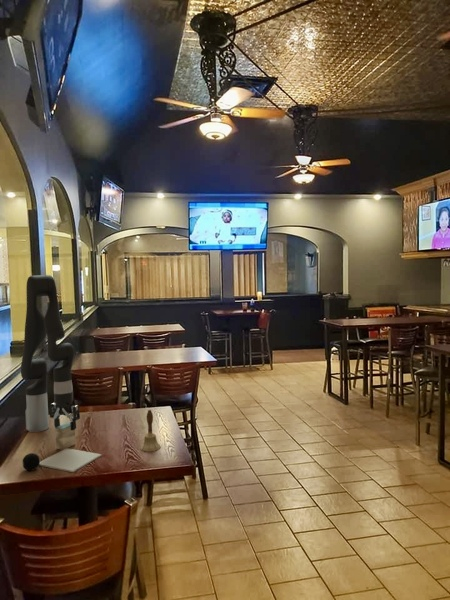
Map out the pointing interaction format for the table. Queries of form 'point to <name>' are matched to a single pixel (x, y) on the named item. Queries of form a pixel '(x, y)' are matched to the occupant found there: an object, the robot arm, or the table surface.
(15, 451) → the table surface
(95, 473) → the table surface
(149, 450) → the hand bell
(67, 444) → the block
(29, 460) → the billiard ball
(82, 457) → the mat
